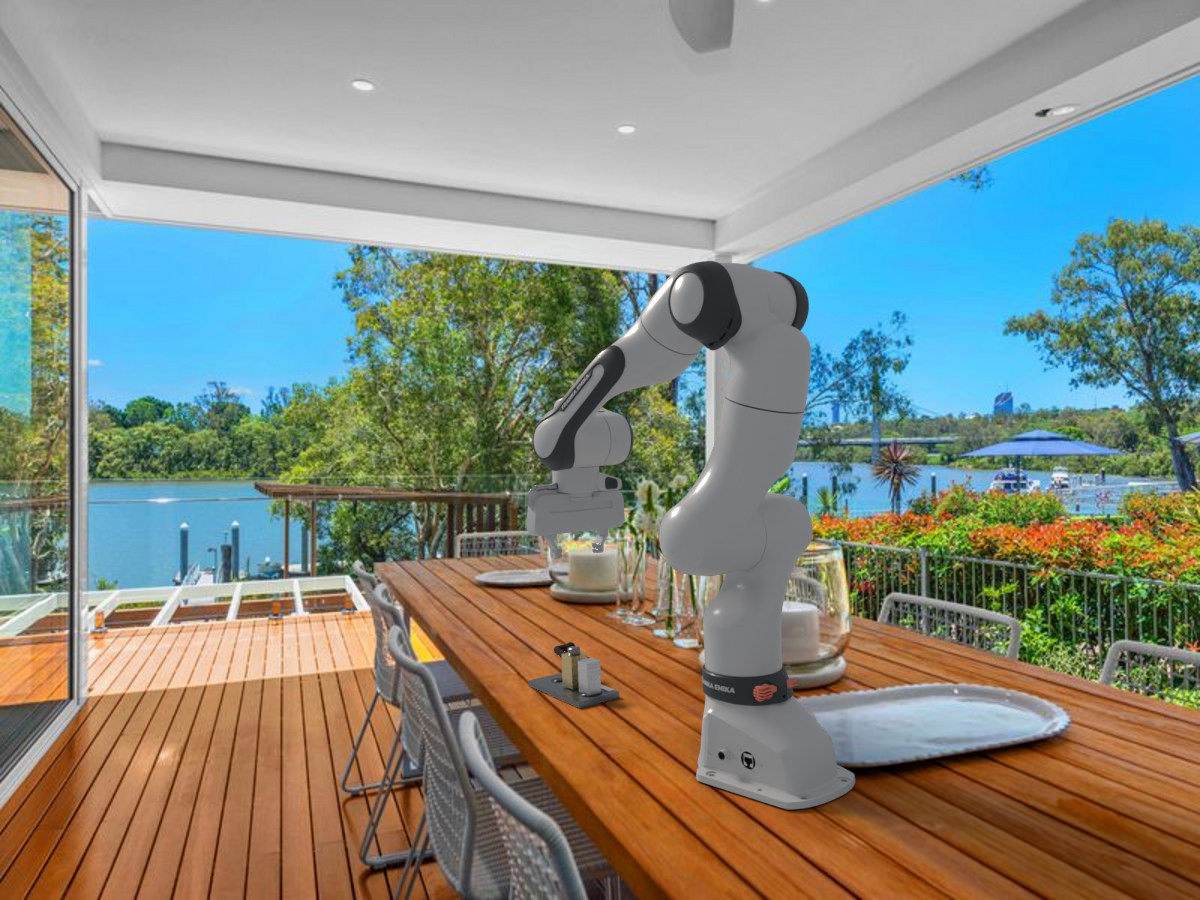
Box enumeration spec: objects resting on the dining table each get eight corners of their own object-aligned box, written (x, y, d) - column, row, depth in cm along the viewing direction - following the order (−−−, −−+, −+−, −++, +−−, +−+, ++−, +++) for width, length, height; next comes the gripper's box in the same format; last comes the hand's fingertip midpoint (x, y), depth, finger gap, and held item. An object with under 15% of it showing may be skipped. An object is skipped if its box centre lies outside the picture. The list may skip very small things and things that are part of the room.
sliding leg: (588, 685, 150) (586, 647, 150) (572, 689, 148) (571, 651, 148) (577, 681, 153) (576, 644, 153) (562, 685, 151) (561, 647, 151)
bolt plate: (619, 697, 147) (617, 659, 147) (579, 708, 142) (577, 668, 142) (566, 677, 162) (565, 642, 162) (528, 686, 156) (527, 650, 156)
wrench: (575, 658, 184) (612, 683, 155) (554, 661, 183) (587, 688, 154) (572, 635, 184) (609, 657, 156) (551, 639, 183) (584, 661, 154)
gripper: (536, 486, 140) (538, 564, 140) (628, 479, 151) (630, 551, 152) (519, 484, 145) (520, 559, 145) (609, 478, 157) (610, 547, 157)
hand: (577, 555), depth 149 cm, fingers open, 8 cm apart
